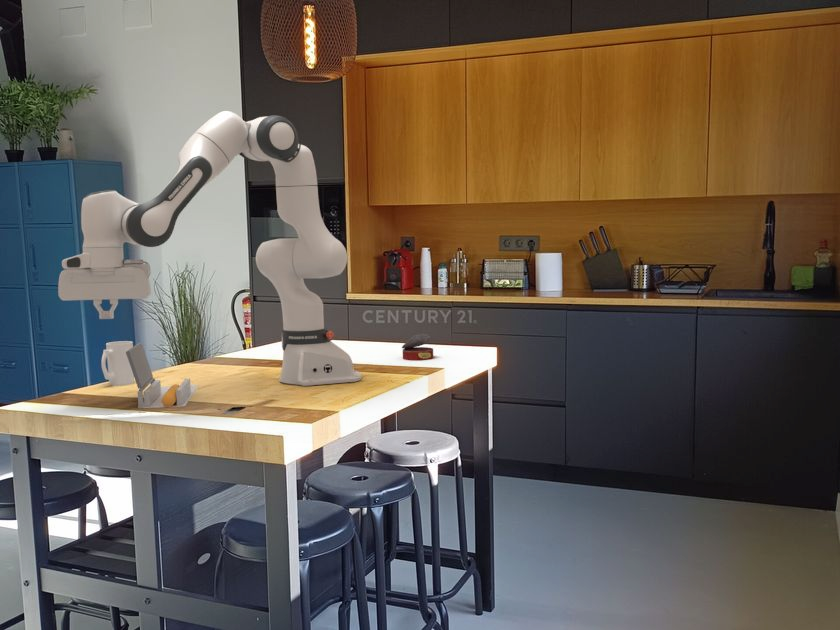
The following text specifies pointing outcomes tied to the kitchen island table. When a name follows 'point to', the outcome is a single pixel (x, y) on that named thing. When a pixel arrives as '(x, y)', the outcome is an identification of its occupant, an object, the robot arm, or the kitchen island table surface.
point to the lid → (140, 366)
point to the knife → (234, 410)
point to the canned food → (417, 348)
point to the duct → (157, 392)
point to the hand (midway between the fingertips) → (106, 318)
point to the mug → (117, 363)
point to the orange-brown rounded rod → (170, 396)
